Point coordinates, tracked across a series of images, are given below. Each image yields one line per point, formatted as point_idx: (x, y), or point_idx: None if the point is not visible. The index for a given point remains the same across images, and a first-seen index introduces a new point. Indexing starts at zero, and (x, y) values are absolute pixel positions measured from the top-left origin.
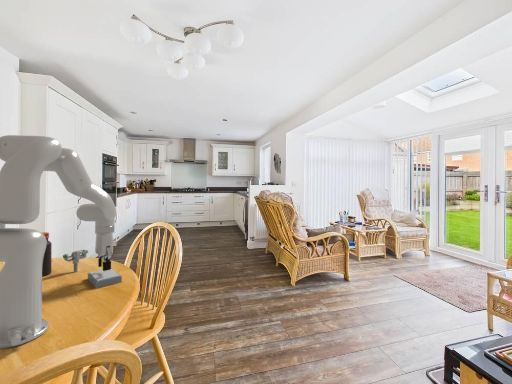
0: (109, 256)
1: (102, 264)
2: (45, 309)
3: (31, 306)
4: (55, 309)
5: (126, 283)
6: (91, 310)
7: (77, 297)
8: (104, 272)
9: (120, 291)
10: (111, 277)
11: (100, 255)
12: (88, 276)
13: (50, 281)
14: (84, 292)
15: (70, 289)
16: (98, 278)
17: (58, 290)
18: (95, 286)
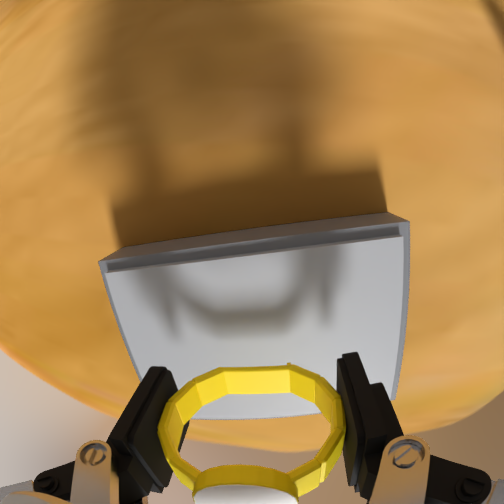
0: (5, 493)
1: (328, 402)
2: (26, 37)
3: None
4: (5, 77)
5: None
6: None
7: (51, 141)
8: (305, 356)
9: (48, 342)
10: (138, 370)
11: (16, 494)
12: (371, 220)
13: (454, 11)
14: (94, 174)
15: (207, 78)
16: (158, 291)
17: (240, 14)
18: (133, 247)
